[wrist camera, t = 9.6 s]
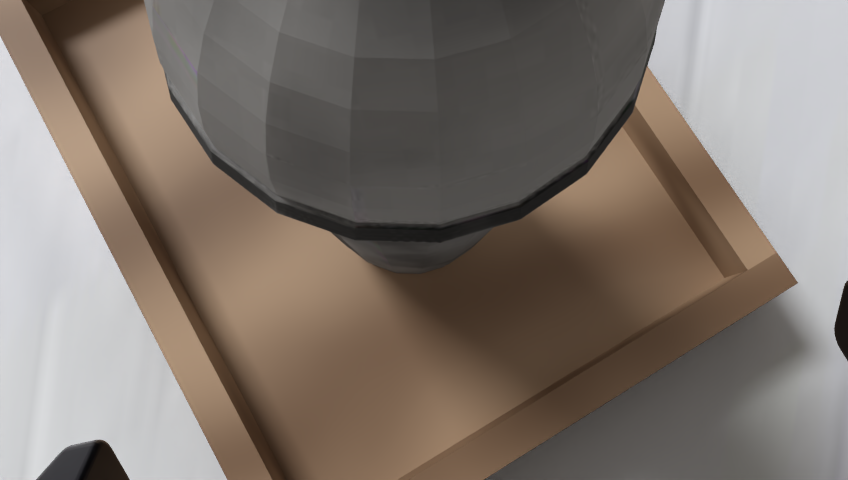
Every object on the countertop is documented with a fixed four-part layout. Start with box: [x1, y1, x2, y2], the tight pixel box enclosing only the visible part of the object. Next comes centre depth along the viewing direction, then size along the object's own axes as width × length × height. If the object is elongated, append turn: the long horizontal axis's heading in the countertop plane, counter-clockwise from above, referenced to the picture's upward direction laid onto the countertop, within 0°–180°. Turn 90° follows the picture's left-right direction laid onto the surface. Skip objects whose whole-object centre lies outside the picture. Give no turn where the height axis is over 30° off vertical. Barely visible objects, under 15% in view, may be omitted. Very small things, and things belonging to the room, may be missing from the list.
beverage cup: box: [144, 0, 665, 274], centre depth 12 cm, size 7×7×20 cm
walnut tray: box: [0, 0, 798, 480], centre depth 22 cm, size 20×16×2 cm
